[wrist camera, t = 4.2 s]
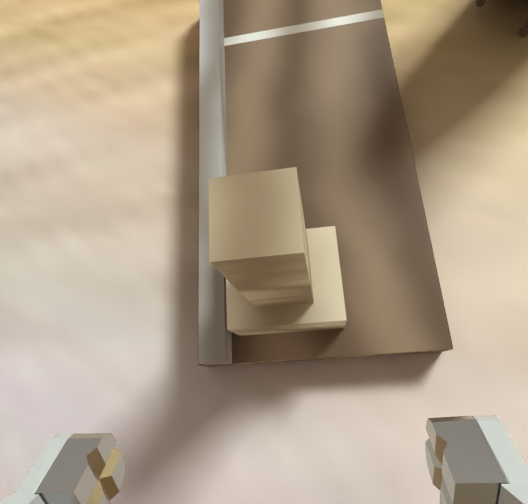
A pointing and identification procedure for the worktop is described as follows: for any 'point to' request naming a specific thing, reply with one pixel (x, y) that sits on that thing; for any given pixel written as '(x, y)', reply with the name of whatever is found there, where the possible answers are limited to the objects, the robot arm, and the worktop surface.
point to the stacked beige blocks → (273, 256)
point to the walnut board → (318, 170)
